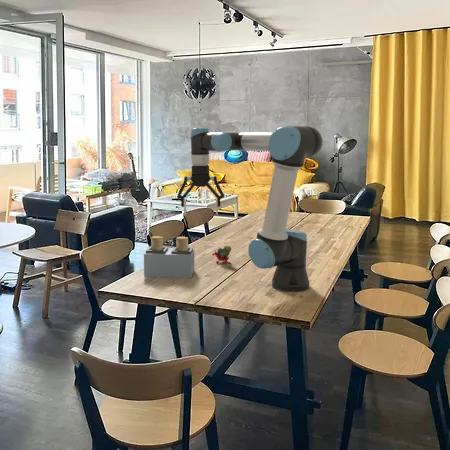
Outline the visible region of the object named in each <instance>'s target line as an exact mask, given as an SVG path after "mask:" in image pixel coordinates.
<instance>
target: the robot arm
mask: <svg viewBox="0 0 450 450" xmlns="http://www.w3.org/2000/svg"><path fill="white" fill-rule="evenodd" d="M190 132H191V133H190V149H191V150H190V151H191V152H190V153H191V154H190V156H191V157H190V158H191V159H190V162H191V163H190V164H191V175H190V176H187V175H185V176H184V178H183V182H182V184H181V186H180V189H179V191H178V193H177V196H176V198H177V199H180V201H181V202H180V203H181V204H180V205H181V208H183V212H184V213H183V215H184V216H186V215H187V199H186V197H187V195H188V194H189V193H190V192H191V191H192V190H193V189H194V187H197V188H200V187H201V188H205V187H207V188H208V189H209V191H210V192H211V193H212V194H213V195H214V196H215V197H216V198H215V215H216V216H217V215H218V214H219V212H218V209H219V208H220V207H221V199H224V198H225V194H224V191H223V190H222V188H221V186H220V184H219V183H218V179H217V176H216V175H214V176H210V166H209V164H210V151H211V152H225V151H227V152H228V151H229V152H230V151H243V152H245V151H250V152H251V151H253V152H259V151H260V152H269V155H271V163H272V164H273V165H274V169H273V173H272V179H271V184H270V188H269V193H268V194H269V195H268V199H267V205H266V209H265V213H264V214H265V215H264V219H263V225H262V227H260V228H259V229H257V234H256V238H253V239H252V241H250V243H249V244H248V251H247V253H248V256H249V258H250V261H251V263H252V264H253V265H254V266H256V268H258V269H262V270H263V269H264V270H265V269H271V268H274V267H276V268H275V271H274V274H273V276H272V279H271V287H273V288H274V289H275V290H278V291H285V292H303V291H306V290H308V289H309V288H310V279H309V277H308V276H309V275H308V271H307V269H306V268H307V267H306V265H307V246H308V245H307V244H308V238H307V237H308V235H307V233H306V232H304V231H300V230H296V229H287V226H288V225H287V224H288V221H289V215H290V210H291V206H292V201H293V197H294V196H293V195H294V191H295V187H296V182H297V176H298V172H299V170H301V169H303V167H304V164H305V160H306V159H309V158H313V157H315V156H316V155H318V154H319V152H321V149H322V147H323V137H322V134H321V132H320V131H319V130H318V129H317V128H315V127H313V126H306V125H305V126H300V125H286V126H280V127H278V128H276V129H275V130H274V131H267V132H266V131H265V132H262V131H261V132H257V131H256V132H254V131H253V132H250V131H249V132H245V131H239V132H225V131H220V132H219V131H218V132H217V131H216V132H210V129H209V128H208V127H193V128H192V129H191V130H190ZM189 181H191V183H192V184H191V185H190V186H189V188H188V189H187V190H186V191H185V192H184V193H183V191H184V189H185V187H186V185H187V183H188V182H189ZM210 181H212V182H214V184H215V187H216V189H217V190H218V193H219V194H220V195H219V194H218V193H217V191H216V190H215V189H214V188H213V187H212V186H211V184H210V183H209V182H210ZM182 193H183V195H182ZM218 207H219V208H218Z"/></svg>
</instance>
